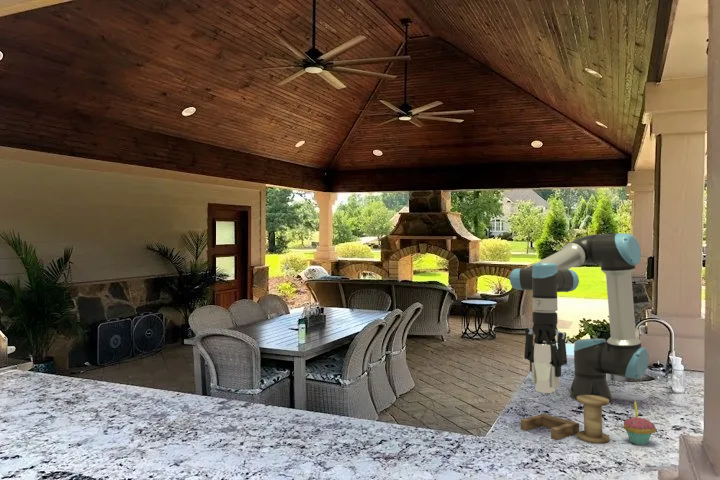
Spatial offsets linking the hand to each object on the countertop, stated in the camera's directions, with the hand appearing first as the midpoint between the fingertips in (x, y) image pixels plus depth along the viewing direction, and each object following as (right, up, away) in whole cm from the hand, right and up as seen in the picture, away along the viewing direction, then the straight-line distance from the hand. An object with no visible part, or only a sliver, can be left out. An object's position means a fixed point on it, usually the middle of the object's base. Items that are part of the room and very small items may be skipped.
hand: (545, 384), depth 169 cm
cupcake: (+25, -15, -9) cm, 30 cm away
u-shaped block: (+2, -15, +1) cm, 15 cm away
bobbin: (+12, -15, -6) cm, 20 cm away
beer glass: (0, -2, 0) cm, 2 cm away
